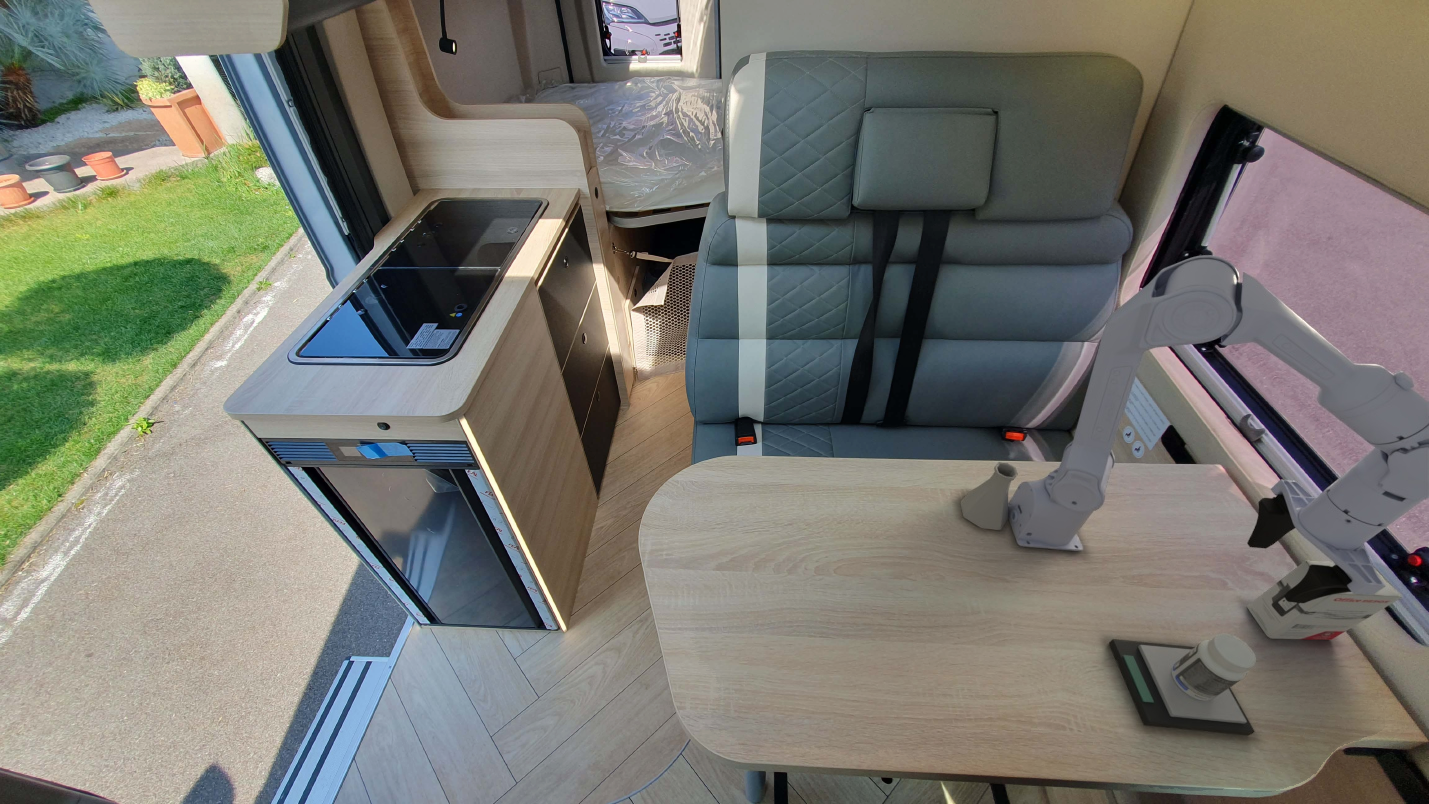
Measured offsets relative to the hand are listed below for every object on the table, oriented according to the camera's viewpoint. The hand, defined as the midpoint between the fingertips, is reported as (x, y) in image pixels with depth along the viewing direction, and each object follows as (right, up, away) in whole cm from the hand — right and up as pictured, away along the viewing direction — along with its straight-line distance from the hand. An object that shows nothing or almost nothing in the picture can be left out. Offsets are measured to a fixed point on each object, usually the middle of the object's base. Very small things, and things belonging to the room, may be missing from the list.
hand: (1274, 571), depth 72 cm
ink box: (+8, -9, +6) cm, 13 cm away
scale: (-13, -14, -1) cm, 19 cm away
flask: (-28, +4, +19) cm, 34 cm away
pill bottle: (-12, -13, -2) cm, 18 cm away
